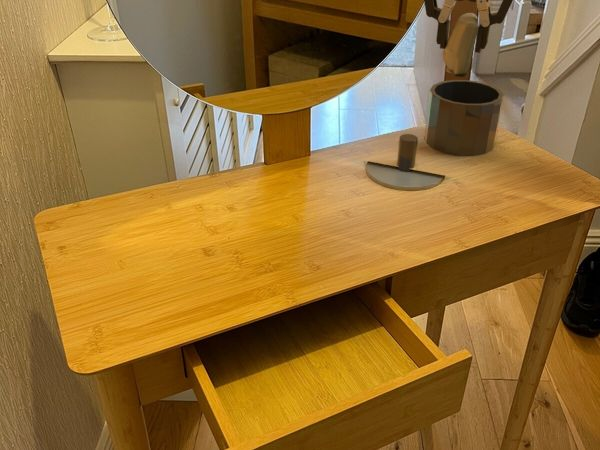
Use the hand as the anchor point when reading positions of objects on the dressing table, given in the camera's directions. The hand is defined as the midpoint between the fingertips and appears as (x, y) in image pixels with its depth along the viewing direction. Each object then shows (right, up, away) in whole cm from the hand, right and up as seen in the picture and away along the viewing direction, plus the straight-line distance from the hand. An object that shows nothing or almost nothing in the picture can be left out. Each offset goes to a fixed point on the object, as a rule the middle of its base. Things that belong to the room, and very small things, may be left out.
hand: (460, 48), depth 91 cm
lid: (-7, -17, +7) cm, 20 cm away
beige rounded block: (0, -3, +2) cm, 4 cm away
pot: (+3, -13, +15) cm, 20 cm away
